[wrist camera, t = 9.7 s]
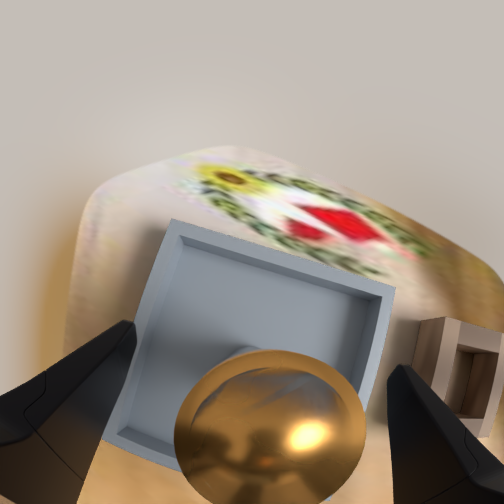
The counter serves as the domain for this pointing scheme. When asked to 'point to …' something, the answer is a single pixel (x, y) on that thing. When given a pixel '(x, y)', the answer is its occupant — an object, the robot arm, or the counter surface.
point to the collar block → (482, 373)
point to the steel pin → (269, 429)
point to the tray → (237, 326)
